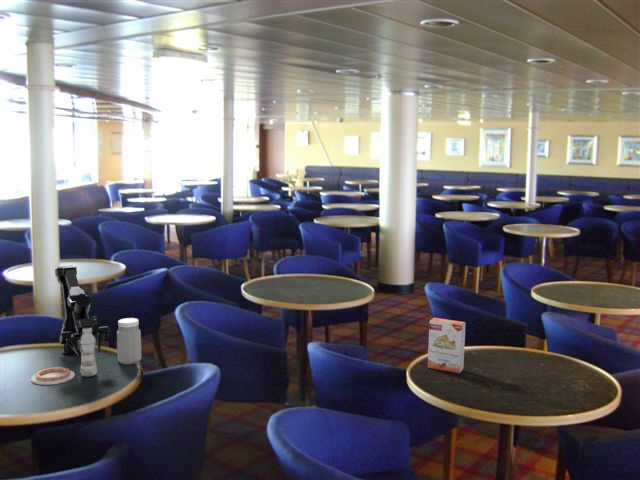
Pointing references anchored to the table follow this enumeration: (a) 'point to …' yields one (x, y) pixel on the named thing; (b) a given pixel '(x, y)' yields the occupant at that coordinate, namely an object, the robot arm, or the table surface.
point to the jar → (128, 341)
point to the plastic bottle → (88, 352)
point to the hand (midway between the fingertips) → (89, 353)
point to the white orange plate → (53, 376)
